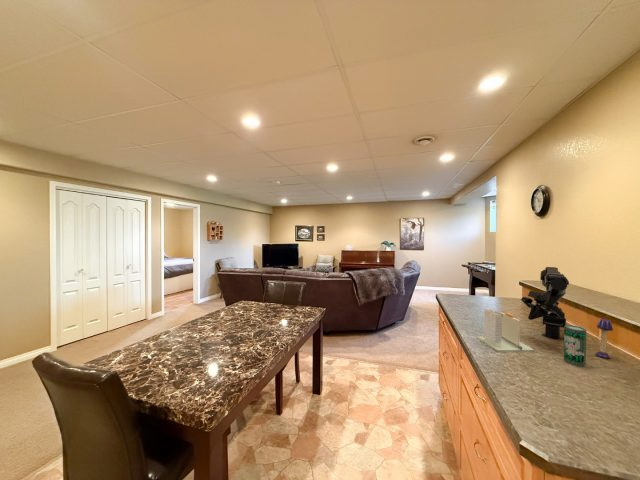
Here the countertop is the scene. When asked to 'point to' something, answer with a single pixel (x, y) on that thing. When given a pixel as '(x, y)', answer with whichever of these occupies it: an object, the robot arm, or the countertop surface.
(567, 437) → the countertop surface
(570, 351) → the can
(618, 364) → the countertop surface
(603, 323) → the toy lamp
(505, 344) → the pale green base plate
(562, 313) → the robot arm
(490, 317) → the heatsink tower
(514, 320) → the hinged cream panel
